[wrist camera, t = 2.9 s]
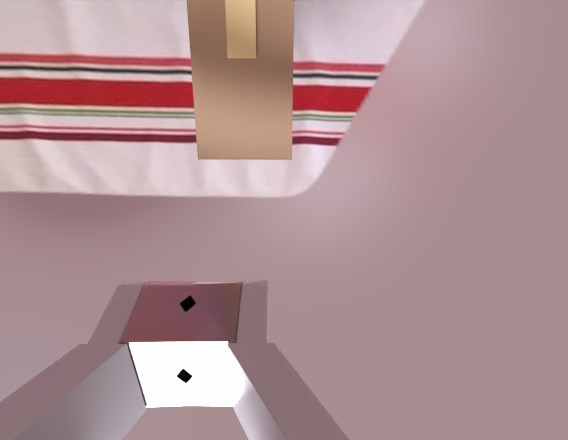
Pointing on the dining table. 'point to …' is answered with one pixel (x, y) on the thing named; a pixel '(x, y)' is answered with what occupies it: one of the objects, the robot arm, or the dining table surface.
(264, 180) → the dining table surface
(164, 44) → the dining table surface
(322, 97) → the dining table surface
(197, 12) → the balance beam
